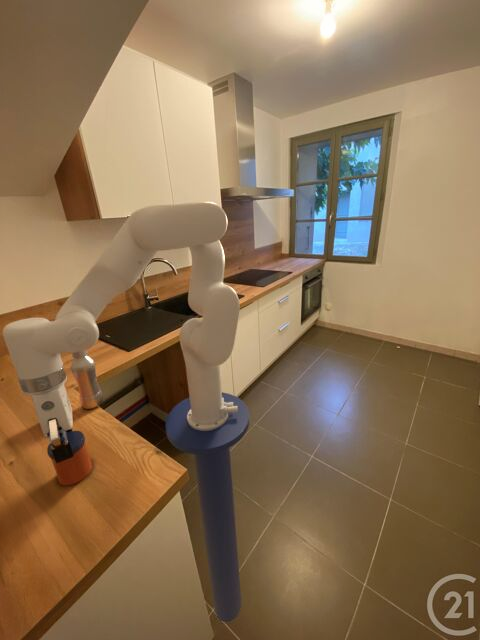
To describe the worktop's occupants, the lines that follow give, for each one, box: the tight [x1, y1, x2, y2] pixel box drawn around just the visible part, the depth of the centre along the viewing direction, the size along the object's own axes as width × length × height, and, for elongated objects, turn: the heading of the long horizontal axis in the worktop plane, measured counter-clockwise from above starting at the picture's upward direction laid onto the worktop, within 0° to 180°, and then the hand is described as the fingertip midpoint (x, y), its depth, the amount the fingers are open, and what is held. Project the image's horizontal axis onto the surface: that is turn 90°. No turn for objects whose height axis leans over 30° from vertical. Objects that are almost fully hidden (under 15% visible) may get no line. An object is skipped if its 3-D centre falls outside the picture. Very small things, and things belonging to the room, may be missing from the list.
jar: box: [50, 441, 93, 486], centre depth 60 cm, size 7×7×9 cm
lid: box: [46, 430, 86, 459], centre depth 59 cm, size 7×7×1 cm
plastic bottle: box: [70, 350, 104, 410], centre depth 83 cm, size 6×7×20 cm
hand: (64, 445), depth 59 cm, fingers open, 8 cm apart
